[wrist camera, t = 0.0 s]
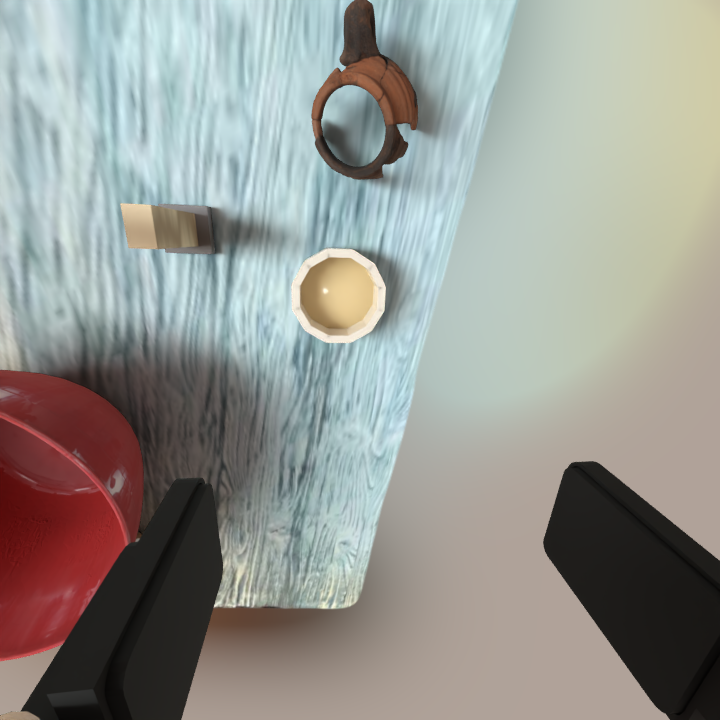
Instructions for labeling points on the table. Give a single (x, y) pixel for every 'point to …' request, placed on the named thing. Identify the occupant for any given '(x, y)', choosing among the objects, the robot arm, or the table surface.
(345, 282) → the cream faceted bowl
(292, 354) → the table surface
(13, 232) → the table surface
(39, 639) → the mixing bowl
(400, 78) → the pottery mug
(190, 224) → the wall mounted peg
